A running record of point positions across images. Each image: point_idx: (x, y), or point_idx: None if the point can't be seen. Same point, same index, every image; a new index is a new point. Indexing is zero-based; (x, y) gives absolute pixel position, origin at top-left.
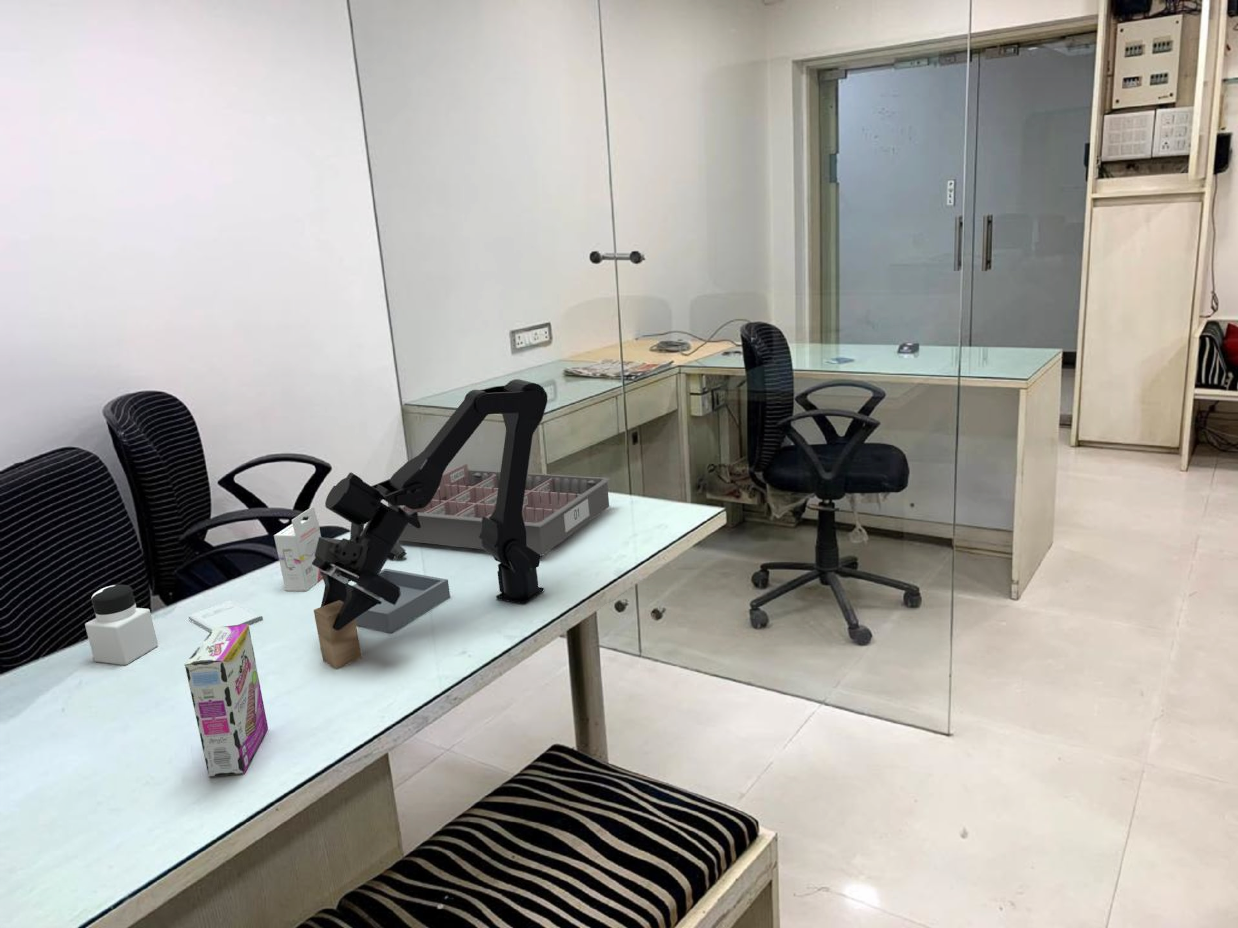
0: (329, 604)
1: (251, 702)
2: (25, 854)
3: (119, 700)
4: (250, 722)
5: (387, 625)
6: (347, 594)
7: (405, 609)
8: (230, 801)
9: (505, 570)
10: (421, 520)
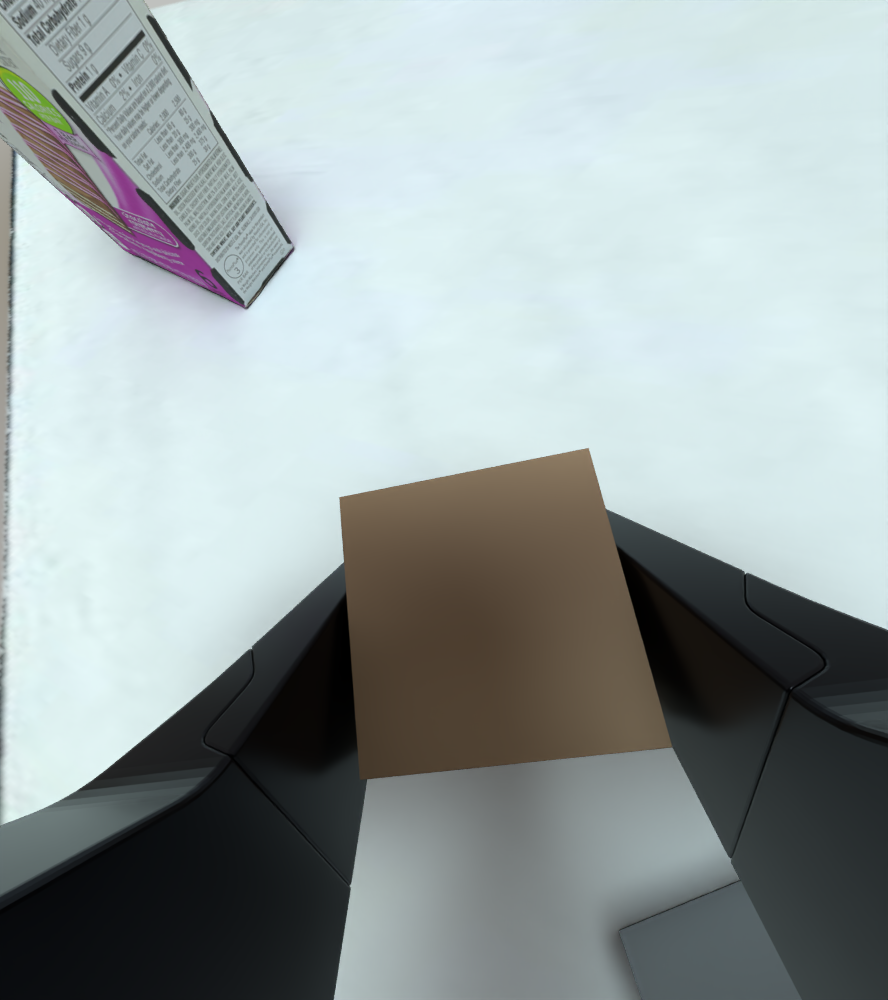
0: (613, 608)
1: (52, 153)
2: (212, 4)
3: (702, 23)
4: (83, 194)
5: (648, 964)
6: (160, 799)
7: None
8: (75, 227)
9: None
10: None
